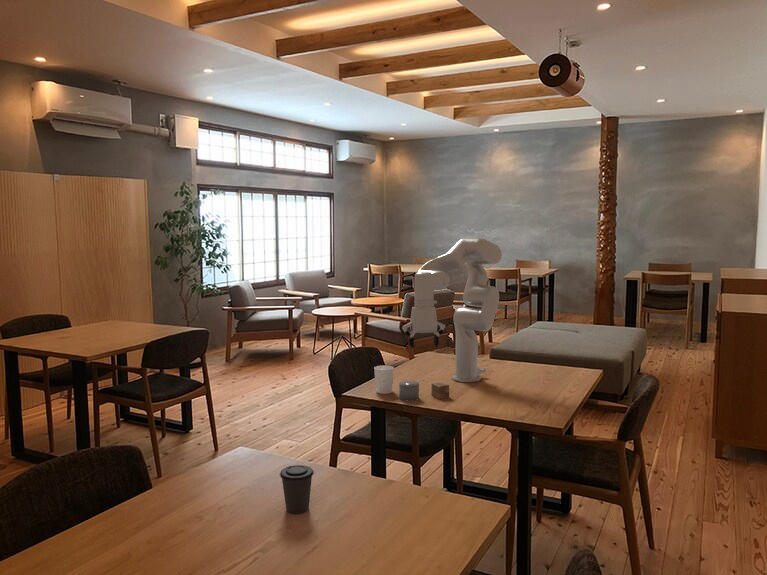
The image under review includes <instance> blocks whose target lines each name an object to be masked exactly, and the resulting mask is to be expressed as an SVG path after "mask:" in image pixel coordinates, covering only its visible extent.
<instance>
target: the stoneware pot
mask: <svg viewBox="0 0 767 575" xmlns="http://www.w3.org/2000/svg"><path fill="white" fill-rule="evenodd" d="M398 388H399V390H398V392H399V395H398V396H399V398H400V399H399V398H398V399H399V400H401V399H402V400H401V401H404V400H408V401H407V402H413V401H412V400H415V401H417V399H418V400H419V398H420V397H419V396H420V382H418V381H415V380H402V381H400V382H399V383H398Z"/></svg>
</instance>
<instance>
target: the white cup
mask: <svg viewBox="0 0 767 575" xmlns="http://www.w3.org/2000/svg"><path fill="white" fill-rule="evenodd" d="M373 368H374V386H375V393H377V394H382V395H385V394H386V395H387V394H391V393H392V392H393V389H394V388H393V384H394V373H395V372H394V366H391V365H377V366H374V367H373Z"/></svg>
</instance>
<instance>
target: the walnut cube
mask: <svg viewBox="0 0 767 575" xmlns="http://www.w3.org/2000/svg"><path fill="white" fill-rule="evenodd" d="M433 396H434V398H435V397H436V399H438V400H440V398H441V399H448V398H450V384H448V383H445V382H443V381H441V382H433V383H431V397H433Z"/></svg>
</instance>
